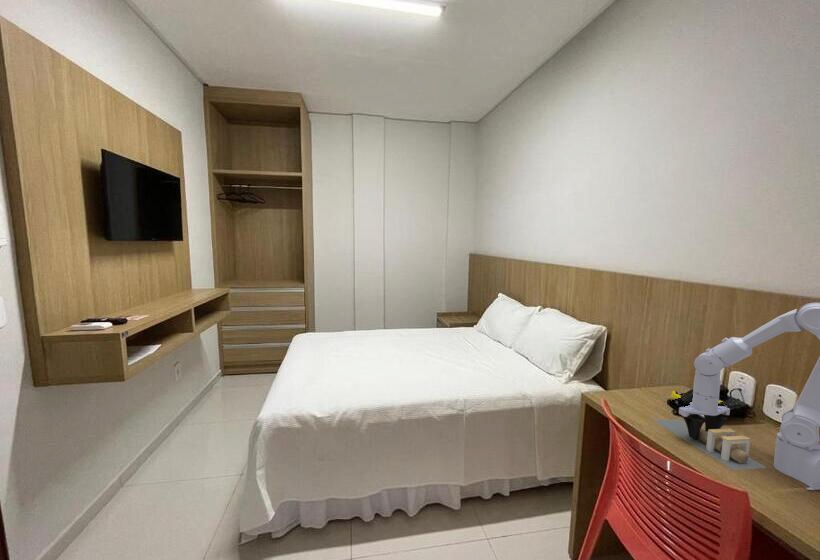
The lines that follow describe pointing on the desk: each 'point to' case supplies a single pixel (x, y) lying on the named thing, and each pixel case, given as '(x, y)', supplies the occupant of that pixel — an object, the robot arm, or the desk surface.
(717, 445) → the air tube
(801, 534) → the desk surface
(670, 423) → the peg gate board
